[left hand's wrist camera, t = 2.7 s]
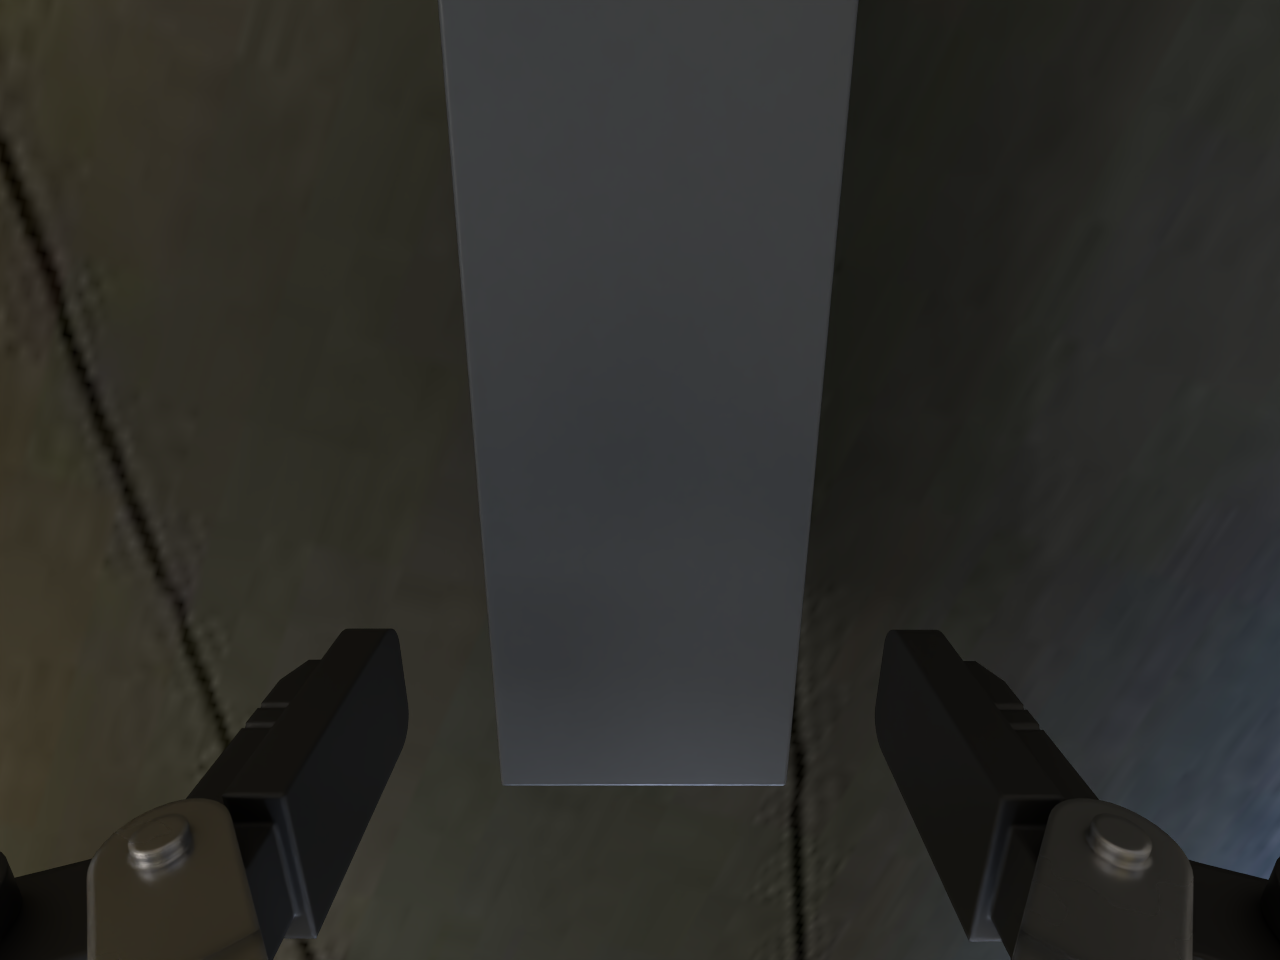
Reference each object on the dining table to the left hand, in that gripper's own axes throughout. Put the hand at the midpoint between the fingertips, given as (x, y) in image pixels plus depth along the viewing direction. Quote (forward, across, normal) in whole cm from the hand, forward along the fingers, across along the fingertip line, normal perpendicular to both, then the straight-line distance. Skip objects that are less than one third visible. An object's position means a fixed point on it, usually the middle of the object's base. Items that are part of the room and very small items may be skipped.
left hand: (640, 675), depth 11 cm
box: (+12, 0, -9) cm, 15 cm away
